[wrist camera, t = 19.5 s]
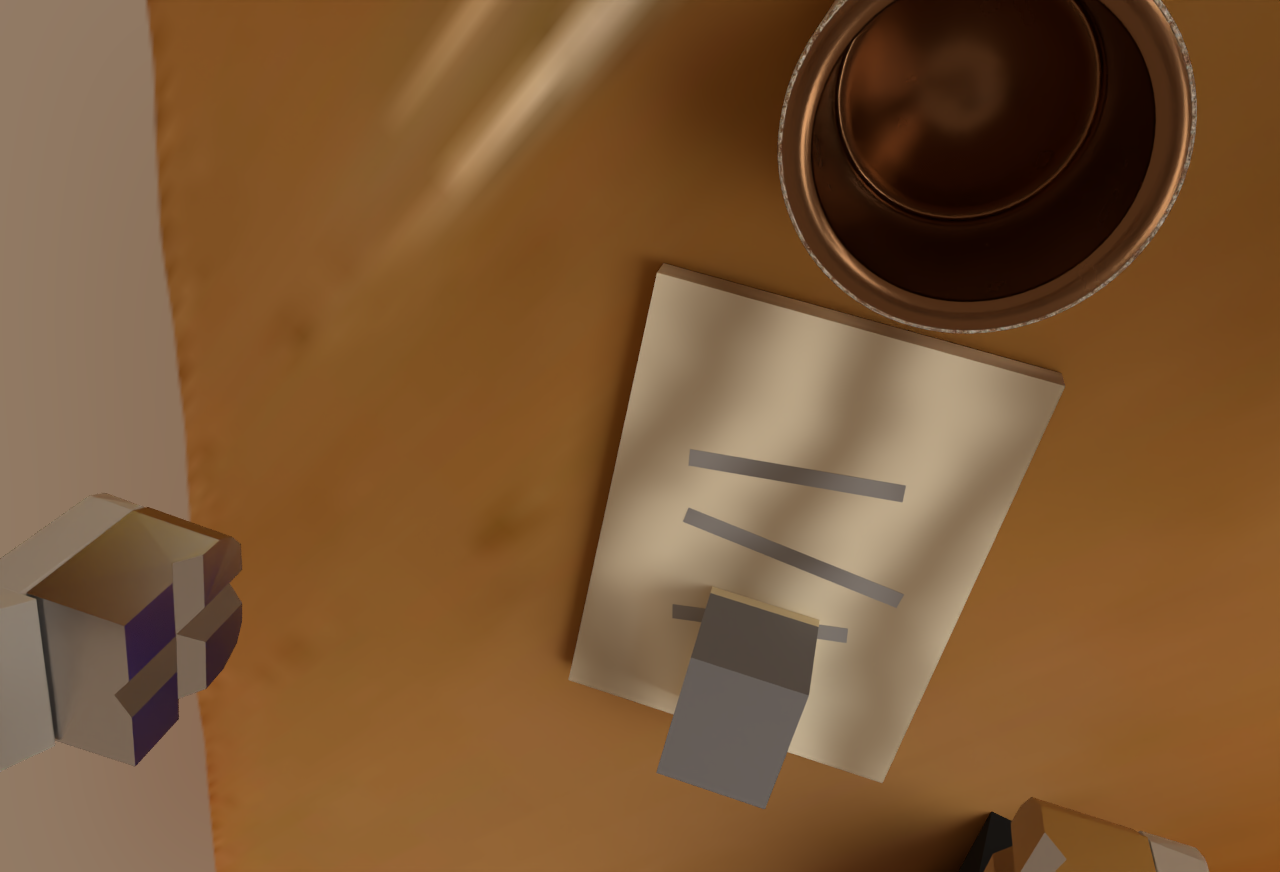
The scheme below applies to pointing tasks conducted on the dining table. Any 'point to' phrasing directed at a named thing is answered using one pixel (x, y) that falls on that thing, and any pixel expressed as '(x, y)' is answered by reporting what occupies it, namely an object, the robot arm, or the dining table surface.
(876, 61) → the planter
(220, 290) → the dining table surface
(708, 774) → the block
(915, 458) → the board
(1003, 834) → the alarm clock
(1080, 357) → the dining table surface
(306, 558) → the dining table surface
